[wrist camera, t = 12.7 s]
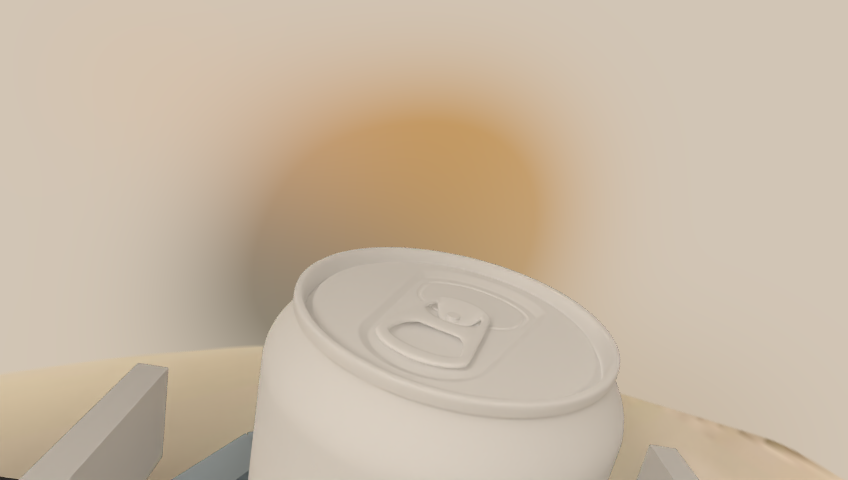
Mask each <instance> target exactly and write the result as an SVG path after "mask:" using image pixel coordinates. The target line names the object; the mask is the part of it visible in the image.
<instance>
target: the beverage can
mask: <svg viewBox="0 0 848 480" xmlns="http://www.w3.org/2000/svg"><path fill="white" fill-rule="evenodd" d="M619 368H620V355H619V350H618V347H617V345H616V343H615V341H614V339H613V337H612V336H611V334H610V333H609V331H608V330H607V329H606V328H605V327H604V325H603V324H602V323H601V322H600V321H599V320H598V319H597V318H596V317H595V316H593V315H592V314H591V313H590V312H589V311H588V310H586V309H585V308H584V307H582V306H581V305H580V304H578V303H577V302H575V301H574V300H572V299H571V298H569V297H568V296H566V295H564V294H562V293H561V292H559V291H557V290H555V289H553V288H552V287H550V286H548V285H546V284H543V283H542V282H539V281H537V280H535V279H533V278H531V277H528V276H526V275H523V274H521V273H518V272H515V271H513V270H510V269H507V268H504V267H502V266H499V265H495V264H492V263H489V262H485V261H482V260H478V259H474V258H470V257H466V256H461V255H456V254H451V253H446V252H440V251H433V250H426V249H416V248H402V247H376V248H364V249H356V250H350V251H345V252H341V253H337V254H334V255H331V256H328V257H325V258H323V259H321V260H319V261H317V262H315V263H314V264H312V265H311V266H309V267H308V268H307V269H306V270H305V271H304V272H303V273H302V274H301V276H300V277H299V279H298V281H297V283H296V286H295V289H294V297H293V299H292V301H290V302H289V303H288V305H287V306H286V307H285V308H284V309H283V310H282V311H281V313H280V314H279V315H278V317H277V318H276V320H275V321H274V323H273V325H272V327H271V328H270V330H269V333H268V335H267V338H266V341H265V344H264V348H263V353H262V361H261V369H260V378H259V387H258V396H257V405H256V413H255V422H254V431H253V440H252V449H251V458H250V467H249V475H248V480H608V479H609V476H610V474H611V471H612V468H613V466H614V463H615V460H616V458H617V455H618V452H619V449H620V447H621V443H622V438H623V432H624V411H623V404H622V399H621V396H620V392H619V389H618V386H617V383H616V378H617V375H618V372H619Z"/></svg>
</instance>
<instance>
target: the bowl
mask: <svg viewBox="0 0 848 480" xmlns="http://www.w3.org/2000/svg"><path fill="white" fill-rule="evenodd" d="M252 440H253V432H248V433H247V434H246V433H245V434H244V435H242V436H240V437H239V438H237V439H236V440H234V441H232V442H231V443H229V444H228V445H226V446H224V447H223V448H221V449H220V450H218V451H216V452H215V453H213V454H212V455H210V456H209V457H207V458H205V459H204V460H202V461H201V462H199V463H197V464H196V465H194V466H193V467H191V468H189V469H188V470H186V471H185V472H183V473H181V474H180V475H178V476H177V477H175V478H173V479H172V480H248V475H249V467H250V458H251V449H252Z"/></svg>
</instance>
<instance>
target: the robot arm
mask: <svg viewBox="0 0 848 480" xmlns="http://www.w3.org/2000/svg"><path fill="white" fill-rule="evenodd" d="M167 382H168V368H167V367H161V366H154V365H148V364H142V363H138V364H137V365H135V366H134V367H133V368H132V369H131V370H130V371H129V372H128V373H127V374H126V375H125V376H124V377H123V378H122V379H121V380H120V381H119V382H118V383H117V384H116V385H115V386H114V387H113V388H112V389H111V390H110V391H109V392H108V393H107V394H106V395H105V396H104V397H103V398H102V399H101V400H100V401H99V402H98V403H97V404H96V405H95V406H94V407H93V408H92V409H91V410H89V411H88V412H87V413H86V414H85V415H84V416H83V417H82V418H81V419H80V420H79V421H78V422H77V423H76V424H75V425H74V426H73V427H72V428H71V429H70V430H69V431H68V432H67V433H66V434H65V435H64V436H63V437H62V438H61V439H60V440H59V441H58V442H57V443H56V444H55V445H54V446H53V447H52V448H51V449H50V450H49V451H48V452H47V453H46V454H45V455H43V456H42V457H41V458H40V459H39V460H38V461H37V462H36V463H35V464H34V465H33V466H32V467H31V468H30V469H29V470H28V471H27V472H26V473H25V474H24V475H23V476H22V477H21V478H20V479H12V478H5V477H0V480H146V479H147V478H148V476H149V475H150V474H151V472H152V471H153V469H154V468H155V466H156V465H157V463H158V462H159V460H160V459H161V458H162V453H163V439H164V424H165V410H166V396H167ZM637 480H699V479H698V478H697V476H696V475H695V474H694V472H693V471H692V470H691V468H690V467H689V466H688V464H687V463H686V462H685V460H684V459H683V458H682V456H681V455H680V454H679V452H678V451H677V450H676V449H675V448H669V447H662V446H656V445H649V448H648V451H647V453H646V456H645V459H644V462H643V464H642V467H641V470H640V472H639V475H638V478H637Z"/></svg>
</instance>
